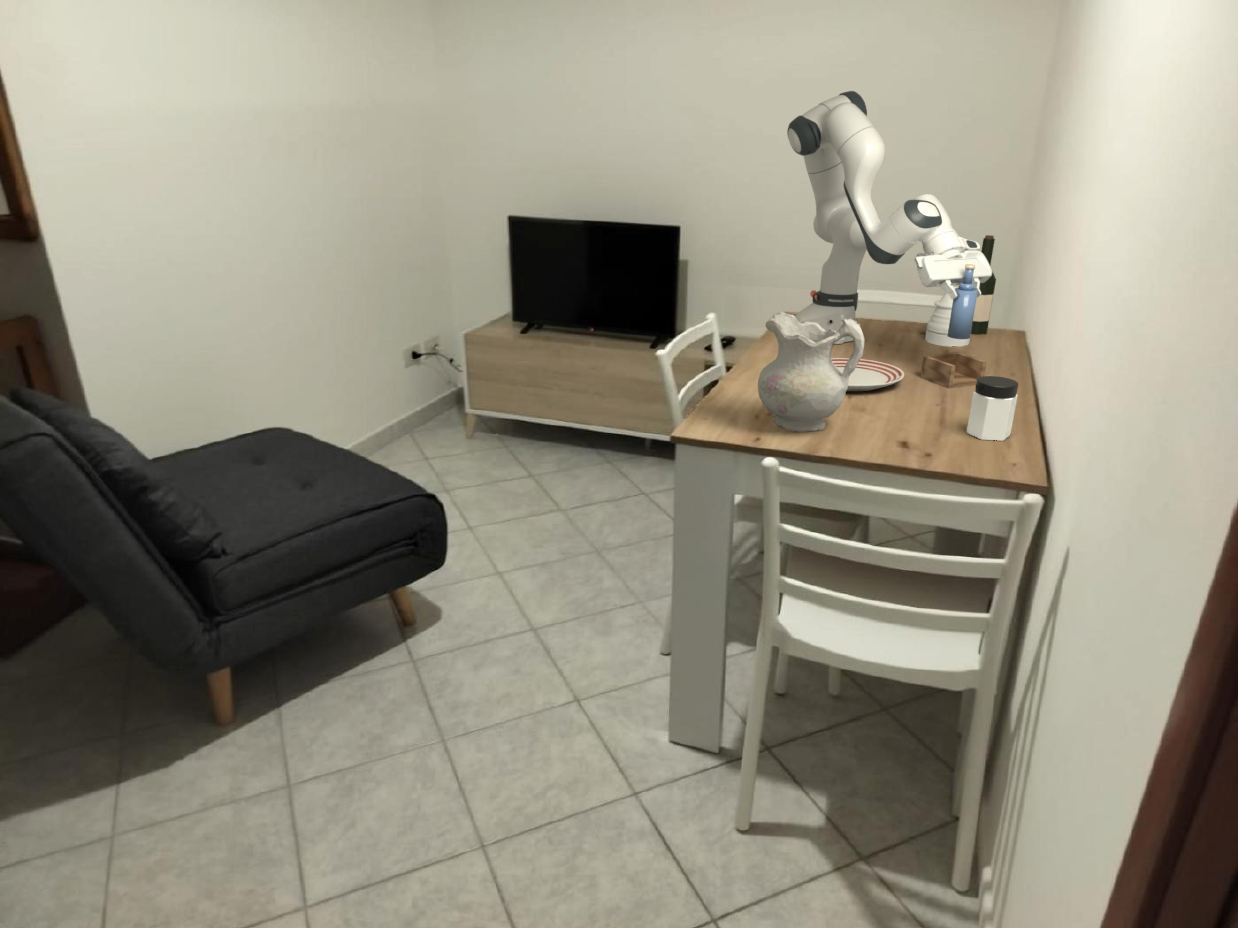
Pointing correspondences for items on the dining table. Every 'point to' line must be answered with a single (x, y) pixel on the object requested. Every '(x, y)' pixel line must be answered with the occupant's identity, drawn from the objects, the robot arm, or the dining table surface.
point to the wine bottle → (984, 293)
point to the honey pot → (942, 324)
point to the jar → (992, 408)
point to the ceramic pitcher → (806, 372)
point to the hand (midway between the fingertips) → (966, 297)
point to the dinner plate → (869, 374)
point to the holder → (952, 369)
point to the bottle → (963, 307)
